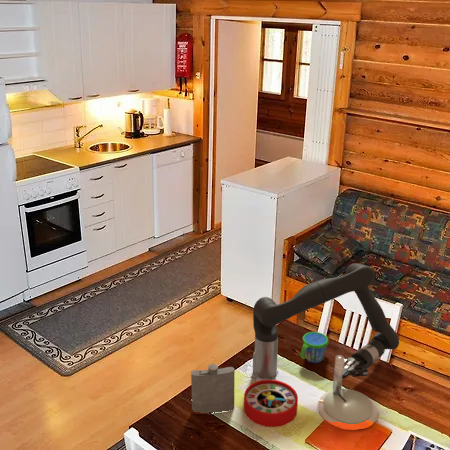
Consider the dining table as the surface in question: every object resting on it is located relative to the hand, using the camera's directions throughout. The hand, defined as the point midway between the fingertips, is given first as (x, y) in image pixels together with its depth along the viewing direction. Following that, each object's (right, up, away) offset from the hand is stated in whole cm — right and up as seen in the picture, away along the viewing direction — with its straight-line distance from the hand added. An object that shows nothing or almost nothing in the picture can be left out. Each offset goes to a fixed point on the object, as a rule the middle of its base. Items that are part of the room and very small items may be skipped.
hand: (341, 376), depth 219 cm
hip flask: (-49, -12, -5) cm, 50 cm away
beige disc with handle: (+1, -10, -5) cm, 12 cm away
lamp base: (+1, -12, -5) cm, 12 cm away
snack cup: (-6, 0, +26) cm, 27 cm away
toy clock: (-27, -12, -3) cm, 30 cm away
